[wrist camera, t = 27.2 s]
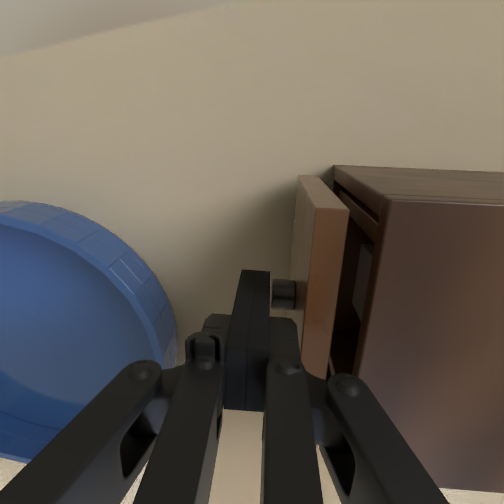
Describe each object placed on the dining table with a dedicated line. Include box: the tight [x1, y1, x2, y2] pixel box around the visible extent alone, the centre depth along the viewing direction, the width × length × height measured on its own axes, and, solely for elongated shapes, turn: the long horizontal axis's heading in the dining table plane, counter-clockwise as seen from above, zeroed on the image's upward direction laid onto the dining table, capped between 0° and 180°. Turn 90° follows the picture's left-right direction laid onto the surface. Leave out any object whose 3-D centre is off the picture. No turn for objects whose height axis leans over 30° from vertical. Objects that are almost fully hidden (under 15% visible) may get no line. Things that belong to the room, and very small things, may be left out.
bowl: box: [0, 201, 178, 464], centre depth 24 cm, size 20×20×4 cm
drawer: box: [271, 175, 380, 446], centre depth 17 cm, size 14×11×9 cm
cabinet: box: [326, 165, 504, 493], centre depth 17 cm, size 14×13×11 cm
